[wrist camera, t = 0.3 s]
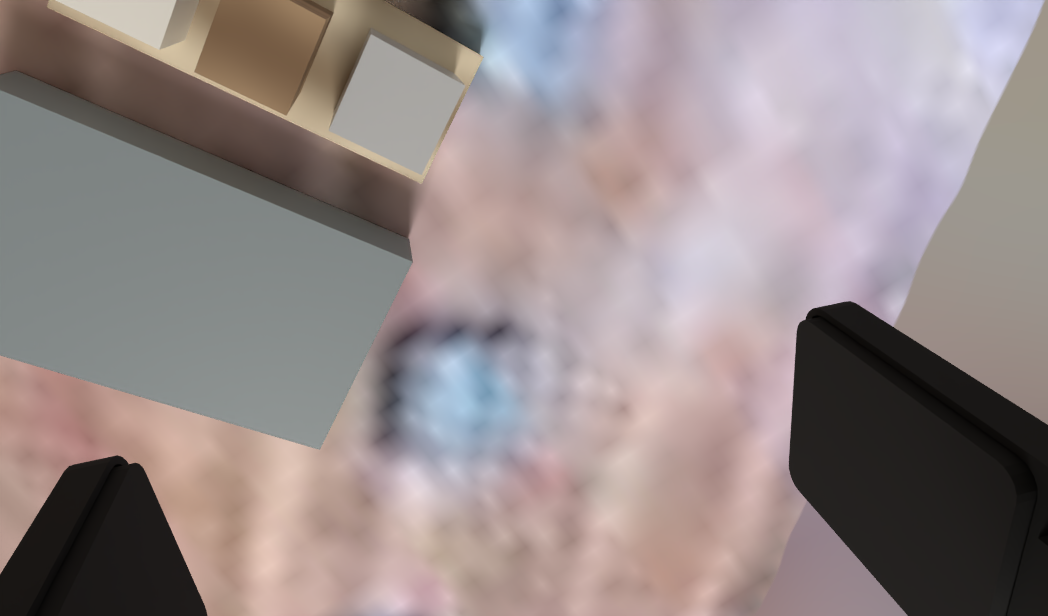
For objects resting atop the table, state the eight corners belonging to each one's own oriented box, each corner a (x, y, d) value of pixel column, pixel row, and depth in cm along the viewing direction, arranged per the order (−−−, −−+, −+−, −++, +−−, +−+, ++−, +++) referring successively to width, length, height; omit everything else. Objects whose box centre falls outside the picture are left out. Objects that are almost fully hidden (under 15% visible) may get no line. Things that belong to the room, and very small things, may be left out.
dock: (16, 70, 36) (-23, 80, 32) (409, 238, 44) (412, 261, 40) (-47, 298, 40) (-88, 329, 36) (323, 414, 48) (319, 449, 44)
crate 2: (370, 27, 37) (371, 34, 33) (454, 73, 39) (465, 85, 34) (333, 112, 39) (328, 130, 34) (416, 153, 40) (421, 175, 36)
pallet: (110, -154, 33) (23, -199, 25) (478, 53, 41) (507, 72, 32) (62, 6, 36) (-32, 14, 27) (419, 175, 43) (431, 222, 35)
